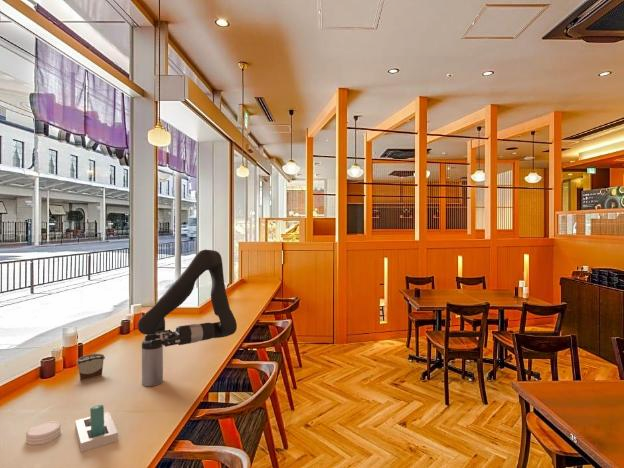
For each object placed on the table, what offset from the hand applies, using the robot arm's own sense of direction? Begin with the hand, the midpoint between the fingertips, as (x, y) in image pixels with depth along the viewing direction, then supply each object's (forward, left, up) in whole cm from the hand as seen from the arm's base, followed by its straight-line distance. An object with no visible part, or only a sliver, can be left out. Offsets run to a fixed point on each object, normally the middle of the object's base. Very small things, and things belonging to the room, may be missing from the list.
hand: (147, 341), depth 148 cm
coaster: (-7, -33, -31) cm, 46 cm away
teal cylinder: (+7, -18, -29) cm, 35 cm away
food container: (-59, -13, -30) cm, 68 cm away
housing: (+2, -18, -30) cm, 35 cm away
